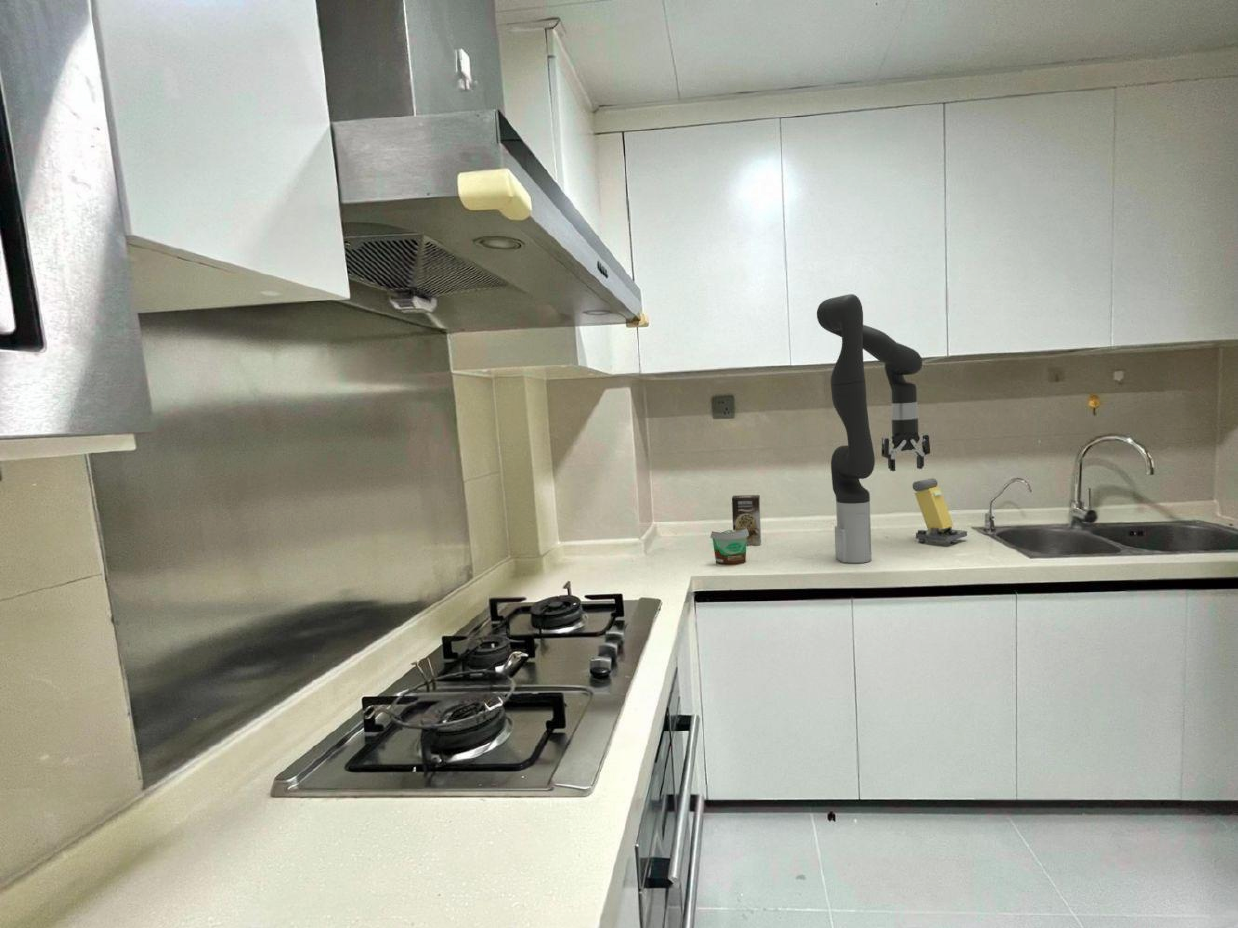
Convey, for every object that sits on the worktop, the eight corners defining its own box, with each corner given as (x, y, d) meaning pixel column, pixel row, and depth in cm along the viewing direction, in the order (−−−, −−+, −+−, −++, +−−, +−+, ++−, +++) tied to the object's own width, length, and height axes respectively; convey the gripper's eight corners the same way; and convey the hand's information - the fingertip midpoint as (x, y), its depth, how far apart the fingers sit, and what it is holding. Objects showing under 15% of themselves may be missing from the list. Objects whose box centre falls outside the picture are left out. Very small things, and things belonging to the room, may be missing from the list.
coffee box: (733, 545, 221) (730, 497, 219) (734, 541, 227) (732, 495, 225) (761, 545, 218) (759, 497, 217) (761, 541, 225) (759, 494, 223)
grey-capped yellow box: (943, 531, 203) (924, 478, 206) (927, 535, 207) (908, 483, 210) (958, 526, 208) (939, 475, 211) (942, 530, 212) (923, 480, 216)
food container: (722, 568, 193) (720, 534, 192) (711, 564, 198) (710, 531, 197) (758, 562, 197) (756, 529, 196) (746, 558, 203) (745, 526, 202)
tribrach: (947, 547, 201) (946, 531, 200) (915, 542, 209) (915, 527, 208) (967, 540, 208) (966, 524, 207) (936, 536, 216) (935, 521, 215)
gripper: (887, 420, 199) (889, 473, 201) (933, 416, 200) (935, 469, 202) (876, 418, 207) (878, 470, 209) (921, 414, 207) (922, 466, 209)
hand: (906, 469), depth 205 cm, fingers open, 8 cm apart
